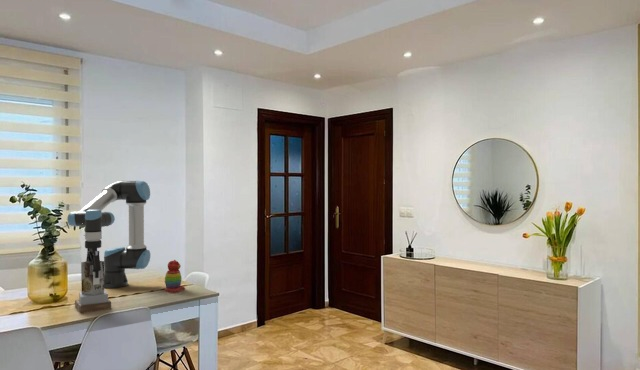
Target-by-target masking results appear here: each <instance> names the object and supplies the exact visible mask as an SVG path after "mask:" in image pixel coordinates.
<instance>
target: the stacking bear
mask: <svg viewBox="0 0 640 370" xmlns="http://www.w3.org/2000/svg"><path fill="white" fill-rule="evenodd" d="M180 268H181V263H179V262H178V261H177V260H176V259H174V260H171V261H169V262H168V263H167V269H168V270H167V271H166V274H165V277H164V285H165V289H164V291H165V292H166V293H173V294H177V293H180V291H185V289H186V287H185V286H183V285H182V275H181V271H180Z"/></svg>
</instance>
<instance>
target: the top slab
mask: <svg viewBox="0 0 640 370" xmlns="http://www.w3.org/2000/svg"><path fill="white" fill-rule="evenodd" d="M78 293H79V294H78V300H79V301H80V304H81V305H88V304H96V303H105V302H108V299H109V293H108V292H107V289H106V288H104V293H100V294H97V295H90V294H82V291H79V292H78Z"/></svg>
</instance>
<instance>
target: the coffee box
mask: <svg viewBox="0 0 640 370" xmlns="http://www.w3.org/2000/svg"><path fill="white" fill-rule="evenodd" d="M80 265H81V266H80V268H81V269H80V271H81V273H80V274H81V276H80V277H81V280H80V281H81V292H82V294H90V295H97V294H100V293H104V289H105V288H104V260H100V266H101V270H100V280H99V284H96V285H93V272H92V271H93V270H94V268H93V262H92V261H86V260H85V261H82V262H81V263H80Z"/></svg>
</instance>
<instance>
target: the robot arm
mask: <svg viewBox="0 0 640 370" xmlns="http://www.w3.org/2000/svg"><path fill="white" fill-rule="evenodd" d="M150 189H151V188H150V185H148V183H147V182H146V181H144V180H143V181H142V180H118V181H116V182H113V183H111V184H109V185H107V186H105V187H104V188H103V189H102V190H101V192H100V193H99V194H98V195H97V196H96V197H94V198H93V199H92V200H91V201H90V202H89V203H87V204H86V205H84V207H82V208H81V209H79V211H71V212H68V216H67V218H66V219H67V223H68V225H69V226H71V227H84V234H83V236H84V240H85V241H84V248H85V249H87V250H86V251H87V253H86V260H85V261H92V262H93V268H94V270H93V271H92V272H93V285H96V284H99V280H100V270H101V266H100V261H101V260H100V250H98V249H100V248H102V232H103V231H102V228H104V227H109V226H112V224H113V225H114V222H115V220H116V219H115V218H116V217H115V215H114V213H112V212H110V211H103V210H104V209H105V208H107V206H108V205H110V204H111V203H114V202H116V201H121V200H123V201H125V204H126V205H128V245H127V246H126V247H125V246H118V247H111V248H107V249H106V250H104V252H103V254H104V255H103V261H104V289H116V288H123V287H126V286H128V285H129V280H128V277H127V275H126V270H143V269H144V270H145V269H146V267H148V265H149V264H150V262H151V261H150V259H151V252H150V250H149V249H147V248H148V247H147V245H145V223H144V222H145V211H144V210H145V209H144V208H145V207H144V206H145V205H146V204H147V201H148V200H149V199H150V196H151V190H150ZM102 211H103V212H102ZM82 223H83V224H82Z"/></svg>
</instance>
